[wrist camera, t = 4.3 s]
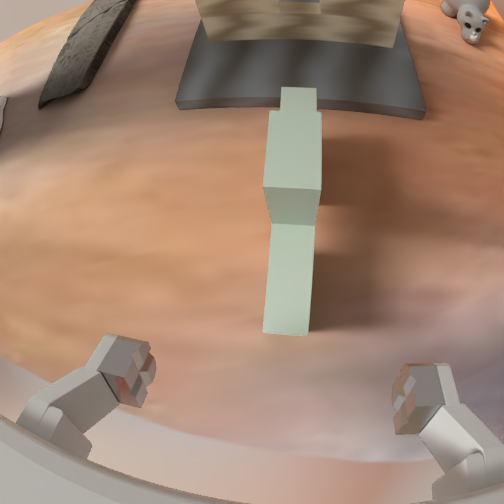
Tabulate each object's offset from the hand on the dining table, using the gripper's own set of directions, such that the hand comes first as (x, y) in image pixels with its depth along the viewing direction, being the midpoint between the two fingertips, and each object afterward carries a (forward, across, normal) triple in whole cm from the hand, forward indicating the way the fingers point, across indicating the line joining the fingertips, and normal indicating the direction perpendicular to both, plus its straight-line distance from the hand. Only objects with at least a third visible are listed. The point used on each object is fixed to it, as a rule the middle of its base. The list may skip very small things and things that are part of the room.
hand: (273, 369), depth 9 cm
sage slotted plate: (+17, 0, +4) cm, 17 cm away
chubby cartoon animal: (+40, -23, -19) cm, 50 cm away
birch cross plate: (+32, 0, -11) cm, 34 cm away
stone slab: (+39, +31, -17) cm, 53 cm away
